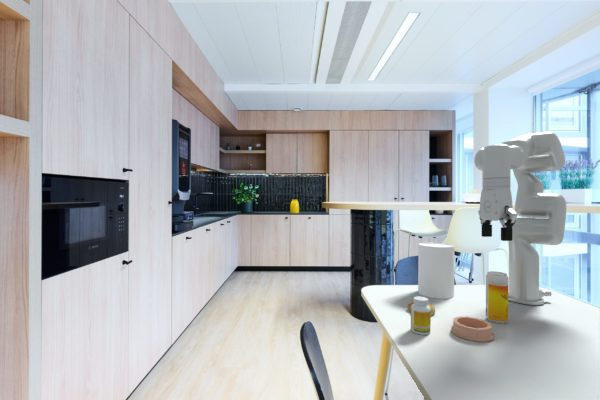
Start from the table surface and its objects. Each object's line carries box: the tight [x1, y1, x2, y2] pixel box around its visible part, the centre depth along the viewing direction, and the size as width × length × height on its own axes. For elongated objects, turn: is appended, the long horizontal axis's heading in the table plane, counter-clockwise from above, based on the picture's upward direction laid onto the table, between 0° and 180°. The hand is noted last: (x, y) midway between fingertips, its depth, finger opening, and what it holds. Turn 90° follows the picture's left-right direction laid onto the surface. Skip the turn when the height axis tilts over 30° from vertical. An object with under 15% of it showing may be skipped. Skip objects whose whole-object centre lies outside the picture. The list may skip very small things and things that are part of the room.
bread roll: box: [407, 299, 436, 317], centre depth 107 cm, size 8×9×4 cm
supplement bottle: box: [410, 295, 432, 336], centre depth 91 cm, size 5×5×10 cm
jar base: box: [450, 316, 495, 343], centre depth 90 cm, size 11×11×3 cm
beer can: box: [485, 270, 509, 324], centre depth 100 cm, size 6×6×15 cm
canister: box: [417, 242, 455, 300], centre depth 129 cm, size 14×14×20 cm
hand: (496, 238), depth 99 cm, fingers open, 9 cm apart
